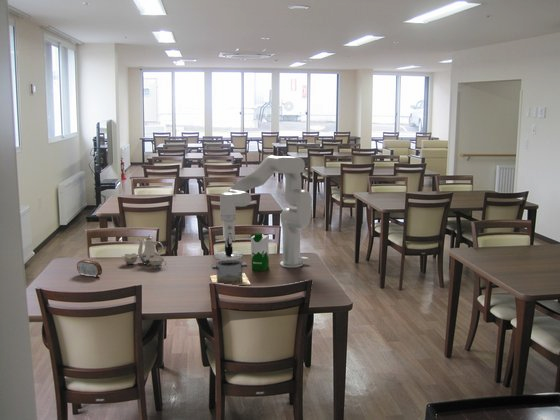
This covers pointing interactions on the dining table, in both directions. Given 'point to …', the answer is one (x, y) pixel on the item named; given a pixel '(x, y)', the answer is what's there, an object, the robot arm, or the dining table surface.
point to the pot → (230, 272)
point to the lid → (228, 256)
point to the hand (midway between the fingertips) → (228, 253)
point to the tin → (89, 267)
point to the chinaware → (147, 254)
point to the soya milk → (260, 252)
